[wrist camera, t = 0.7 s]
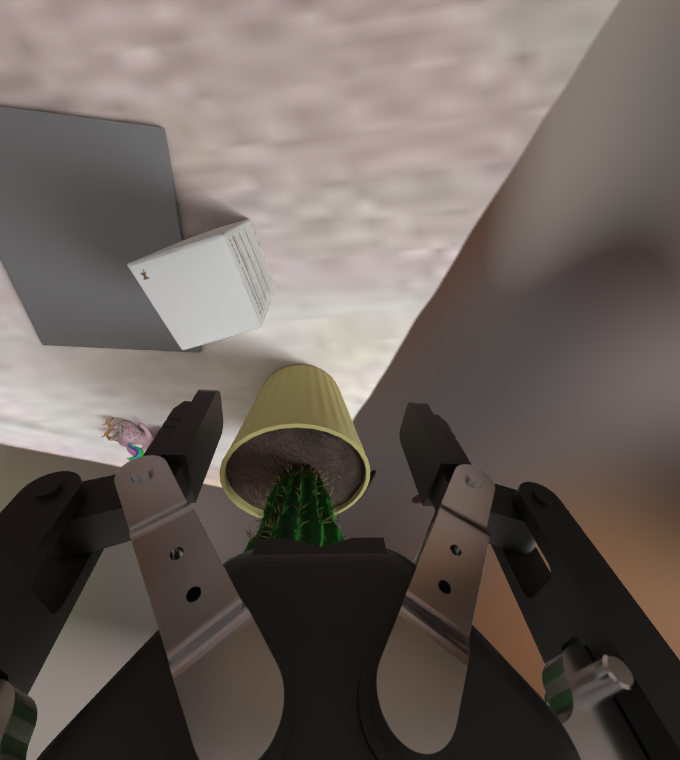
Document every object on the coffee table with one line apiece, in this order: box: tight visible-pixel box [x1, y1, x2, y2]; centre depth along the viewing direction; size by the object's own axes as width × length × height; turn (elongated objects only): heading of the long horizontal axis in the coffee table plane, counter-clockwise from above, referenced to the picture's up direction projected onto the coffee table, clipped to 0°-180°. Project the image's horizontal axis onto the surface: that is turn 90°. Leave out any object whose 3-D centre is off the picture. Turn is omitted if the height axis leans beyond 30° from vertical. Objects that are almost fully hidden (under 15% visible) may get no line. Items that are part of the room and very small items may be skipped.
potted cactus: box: [220, 364, 370, 558], centre depth 31 cm, size 15×15×30 cm
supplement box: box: [127, 219, 276, 350], centre depth 28 cm, size 7×7×13 cm
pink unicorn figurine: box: [102, 416, 154, 461], centre depth 43 cm, size 6×6×15 cm
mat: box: [0, 106, 202, 352], centre depth 31 cm, size 22×18×1 cm
